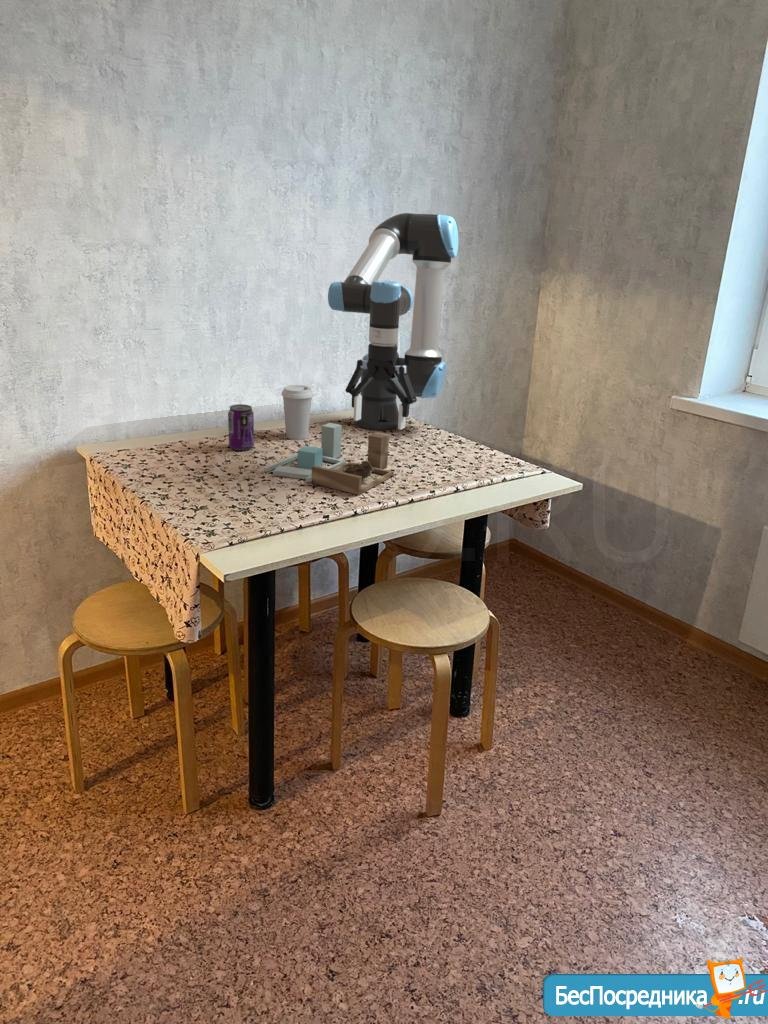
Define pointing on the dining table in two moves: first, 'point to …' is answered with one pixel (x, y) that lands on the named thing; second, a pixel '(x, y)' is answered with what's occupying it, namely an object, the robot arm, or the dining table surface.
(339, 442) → the grey open frame
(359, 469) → the rock sample
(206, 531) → the dining table surface
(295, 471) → the grey rectangular block
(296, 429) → the coffee cup
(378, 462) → the brown open frame
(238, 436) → the beverage can
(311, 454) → the teal block
